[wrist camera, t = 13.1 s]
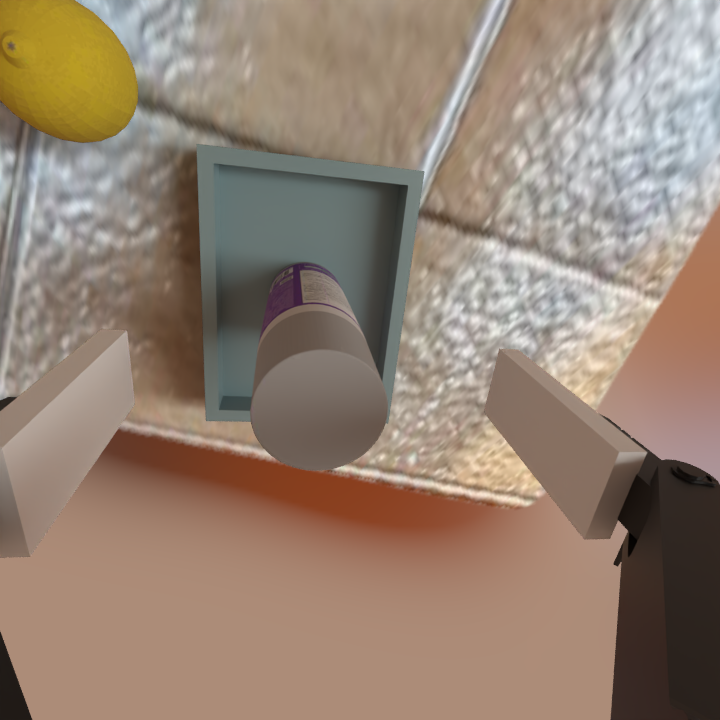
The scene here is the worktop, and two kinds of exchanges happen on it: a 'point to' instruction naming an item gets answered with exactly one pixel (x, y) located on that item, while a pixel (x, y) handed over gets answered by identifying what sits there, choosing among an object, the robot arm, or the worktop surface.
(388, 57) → the worktop surface
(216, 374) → the tray
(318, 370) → the container
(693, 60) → the worktop surface
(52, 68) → the lemon
